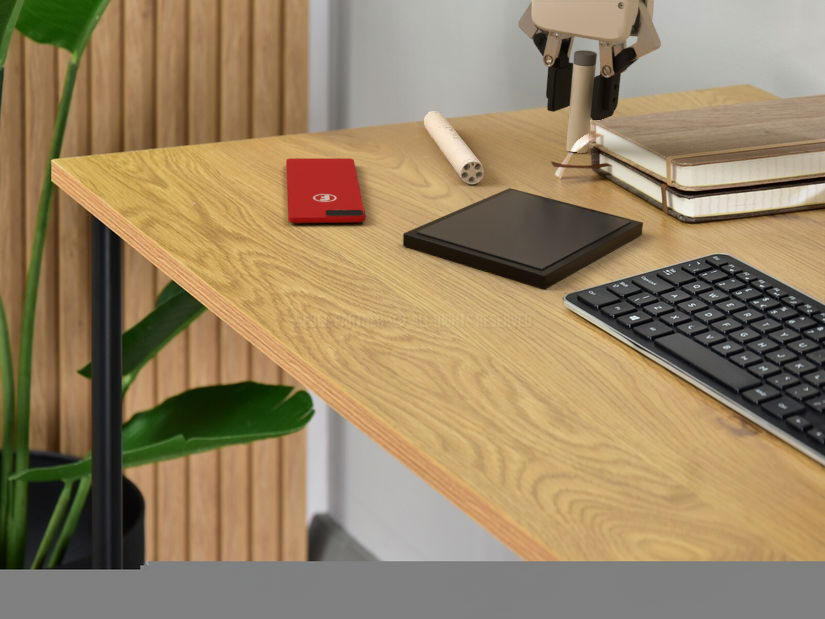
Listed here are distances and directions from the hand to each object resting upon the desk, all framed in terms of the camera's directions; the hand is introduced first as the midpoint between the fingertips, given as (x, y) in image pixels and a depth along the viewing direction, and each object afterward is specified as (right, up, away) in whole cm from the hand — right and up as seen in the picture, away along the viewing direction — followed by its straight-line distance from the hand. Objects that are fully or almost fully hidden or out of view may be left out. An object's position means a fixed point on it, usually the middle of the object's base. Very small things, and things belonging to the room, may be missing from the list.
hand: (580, 111), depth 109 cm
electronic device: (-22, -9, -12) cm, 27 cm away
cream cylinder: (-12, -4, -1) cm, 13 cm away
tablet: (-7, -13, -20) cm, 25 cm away
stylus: (0, -3, +1) cm, 4 cm away
